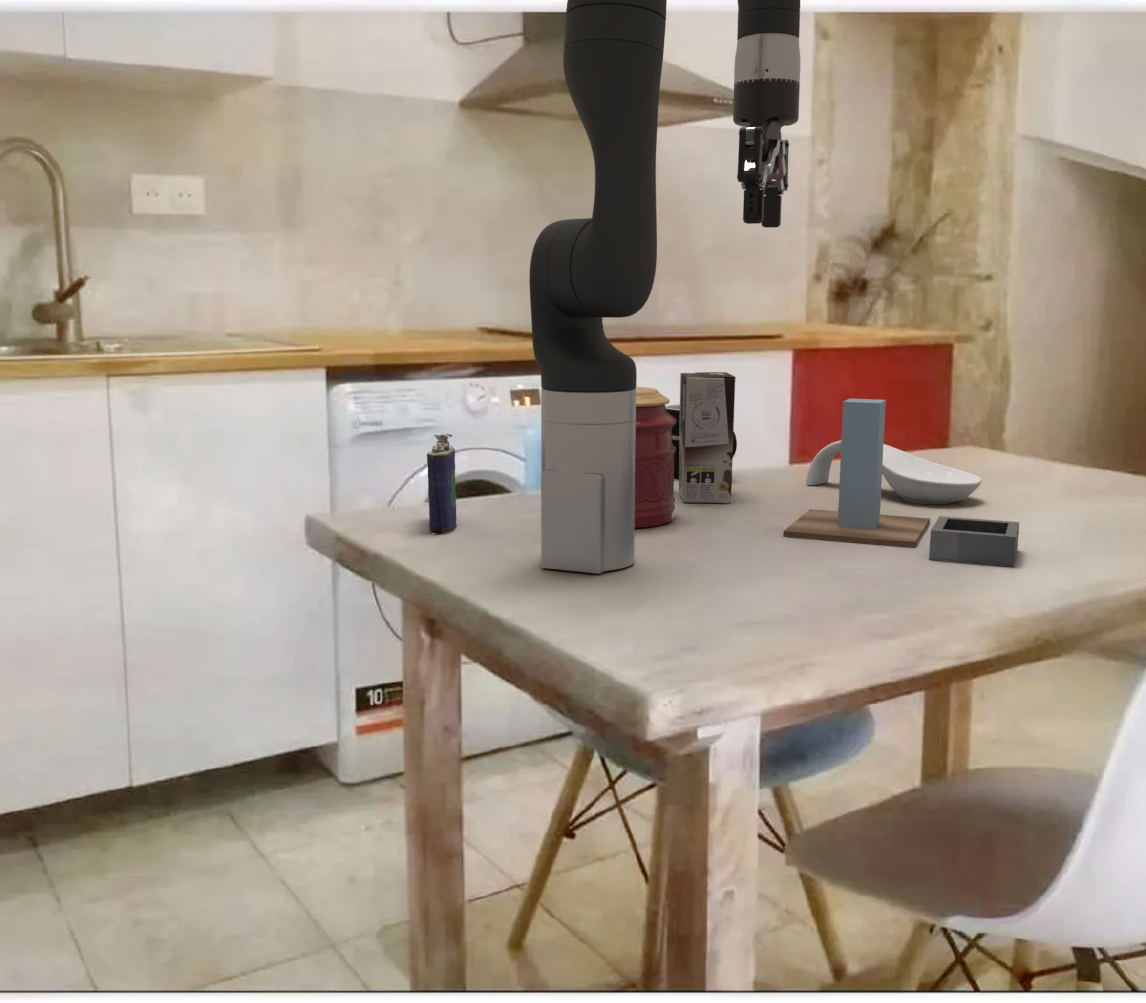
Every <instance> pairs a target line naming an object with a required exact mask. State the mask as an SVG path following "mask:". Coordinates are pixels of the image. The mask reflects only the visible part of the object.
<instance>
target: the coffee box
mask: <svg viewBox="0 0 1146 1003" xmlns="http://www.w3.org/2000/svg"><path fill="white" fill-rule="evenodd" d="M736 378H737V377H736V376H734V374H733V375H732V374H730V373H729V372H722V371H706V372H705V371H703V372H699V371H698V372H680V378H679V386H680V387H679V404H680V431H679V479H678V492H680V493H679V495H680V497H681V499H682V502H683V503H700V504H701V503H702V504H703V503H704V504H705V503H706V504H707V503H708V504H709V503H710V504H714V503H715V504H730V503H732V489H733V488H732V484H733V458H734V457H733V431H734V430H735V429H734V428H735V427H734V422H735V399H736V398H735V397H736V396H735V395H736V394H735V392H736Z"/></svg>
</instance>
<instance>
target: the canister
mask: <svg viewBox="0 0 1146 1003" xmlns="http://www.w3.org/2000/svg"><path fill="white" fill-rule="evenodd" d="M669 403H670V398H668V397H666V396H665V395H663V394H662V393H661V392H659V390H658V389H657V388H654V387H653V388H652V387H645V386H644V387H643V386H636V446H635V529H641V528H651V527H657V526H661V525H664V524H667V523H669V522H671V521H672V520H673V515H674V511H675V507H676V505H675V502H676V499H675V495H674V492H675V490H674V489H675V486H674V484H675V482H674V481H675V478H674V454H675V452H676V448H675V446H673V444H672V427H673V426H674V425H675V424H676V422H677V421H676V419H675V418H674V417H673V416H671V415H670V414H668V412H667V410H666V407H665V406H666V405H667V404H668V405H669Z"/></svg>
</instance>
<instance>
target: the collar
mask: <svg viewBox="0 0 1146 1003" xmlns="http://www.w3.org/2000/svg"><path fill="white" fill-rule="evenodd" d="M1019 531H1020V522H1019V521H1010V520H1009V521H1008V520H995V519H994V520H993V519H982V518H969V517H954V516H942V515H939V516H938V517H937V519H936V521H935V523H934V524H933V526H932V527H931V529H930V536H929V554H928V555H929V556H928V560H933V561H945V562H953V563H954V562H956V563H964V564H965V563H966V564H975V565H977V564H978V565H988V566H999V567H1001V566H1002V567H1011V568H1014V567H1015V563H1016V559H1017V554H1018V549H1019V548H1018V547H1019V534H1020V532H1019Z"/></svg>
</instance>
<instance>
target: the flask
mask: <svg viewBox="0 0 1146 1003" xmlns="http://www.w3.org/2000/svg"><path fill="white" fill-rule="evenodd" d="M433 437H435V438H436V440H437V441H436V444H435V445H433V446H432V447H431V451H428V452H427V453H426V461H427V487H428V490H427V496H428V514H429V515H428V517H429V518H428V519H429V520H428V521H429V532H431V533H430V534H432V533H435V534H434V535H447V534H450V533H452V532H454V530H455V529H456V528H457V525H458V524H457V494H456V491H457V490H456V488H457V487H456V486H457V485H456V463H455V462H456V450H455V448H454V446H453V445H451V444H450V442H449V437H450V438H453V434H450V433H446V434H444V433H441V434H434V435H433ZM451 531H452V532H451ZM449 532H450V533H449ZM446 533H447V534H446Z"/></svg>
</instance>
